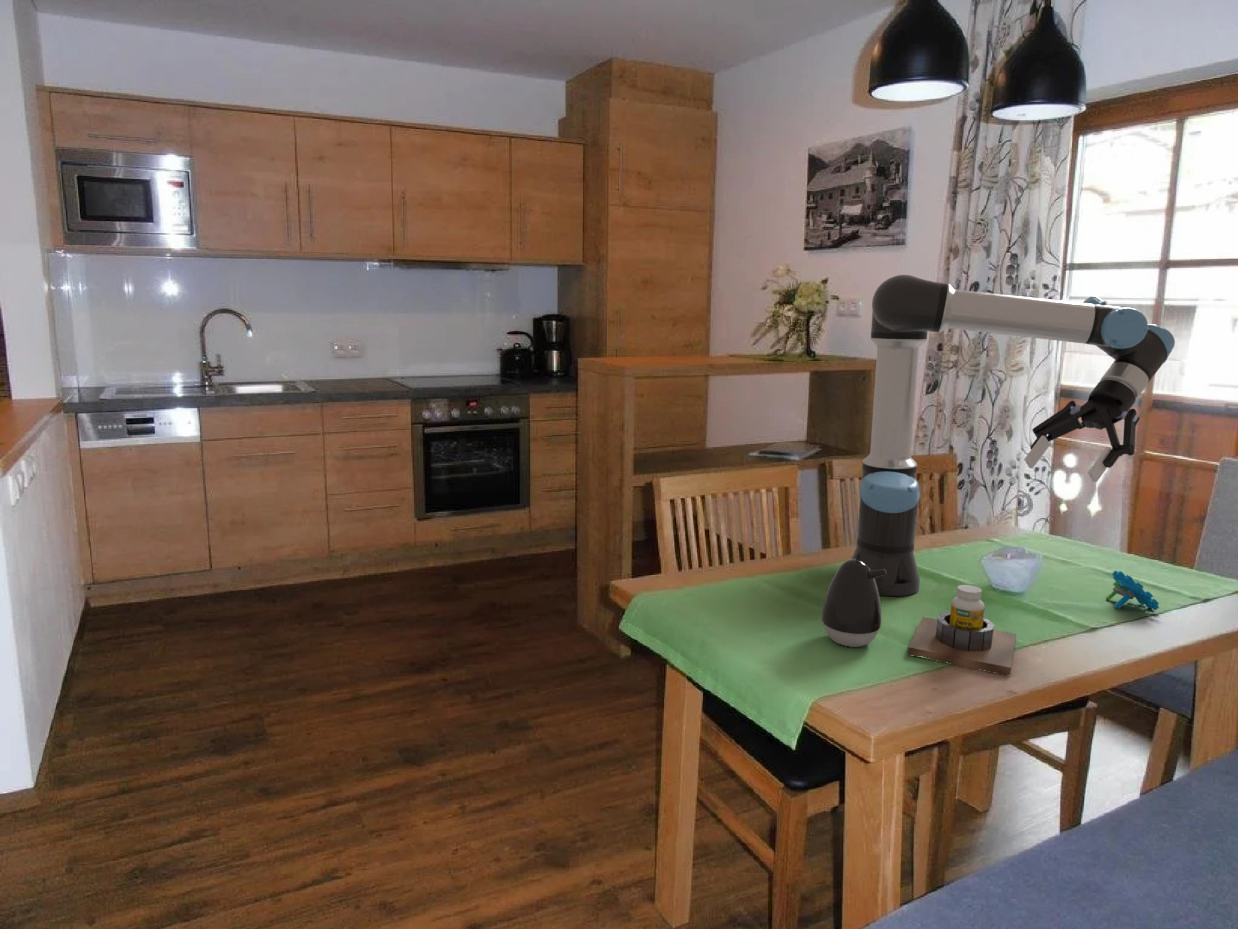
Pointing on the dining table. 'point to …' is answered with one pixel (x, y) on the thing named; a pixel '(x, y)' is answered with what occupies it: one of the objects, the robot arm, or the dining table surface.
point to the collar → (964, 635)
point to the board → (987, 660)
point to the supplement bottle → (967, 608)
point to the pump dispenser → (853, 604)
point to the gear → (1131, 591)
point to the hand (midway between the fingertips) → (1058, 470)
